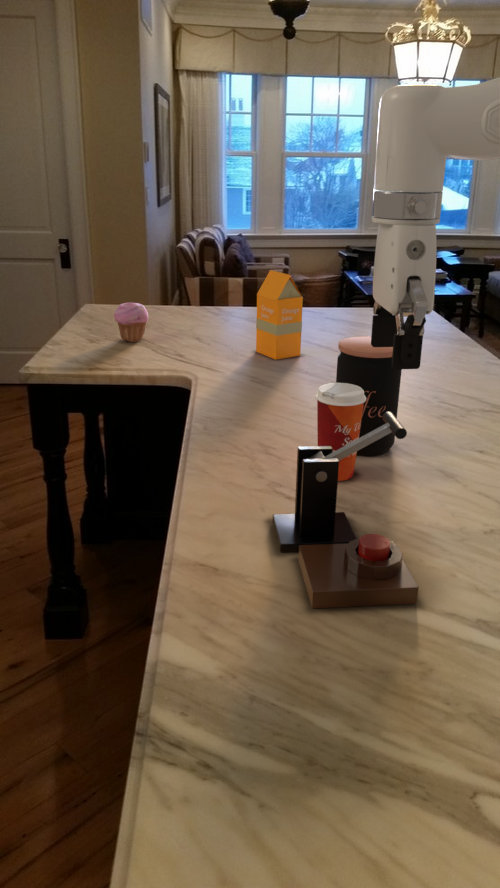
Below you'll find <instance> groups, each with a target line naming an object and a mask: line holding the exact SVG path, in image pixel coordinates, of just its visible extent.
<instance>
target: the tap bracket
mask: <svg viewBox="0 0 500 888" xmlns="http://www.w3.org/2000/svg"><path fill="white" fill-rule="evenodd" d="M332 450H333V449H332V447H331V446H318V445H315V446H314V445H310V446H308V445H307V446H297V454H296V455H297V458H296V475H295V477H296V479H295V500H294V501H295V502H294V513H275V514H272V525H273V529H274V533H275V536H276V537H275V538H276V541H277V546H278V549H279V552H280V553H291V552H292V553H294V552H296V553H297V552H298V553H299V545H320V544H348V543H349V542H350V541H353V540H355V539H357V537H356V534H355V532H354V530H353V528H352V526H351V523H350V521H349V519H348V517H347V515H346V512H345V511H338V512H337V498H338V497H337V496H338V482H339V481H338V471H339V460H338V458H330V459H307V458H309V457H311V456H313V455H314V454H316V453H318V452H320V451H322V453H323V455H324V457H325V456H327V455H329V454H331V453H332ZM302 461H303V463H302Z"/></svg>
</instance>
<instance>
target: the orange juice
mask: <svg viewBox="0 0 500 888" xmlns="http://www.w3.org/2000/svg"><path fill="white" fill-rule="evenodd" d="M292 277H293V276H292V275H291V274H288V273H283V272H281V271H275V270H273V269H270V270H269V271H268V273H267V275H266V277H265V278H264V280H263V282H262V284H261V286H260V288H259V290H258V291H257V293H256V319H255V320H256V321H255V325H256V327H255V329H256V330H255V333H256V339H255V352H256V353H259V354H261V355H264V356H266V357H268V358H270V359H273V360H275V361H277V360H281V359H288V358H293V357H300V356H301V350H302V333H303V332H302V330H303V302H304V297H303V296H302V294H301V292H300V291H299V288H298V287H297V284H296V283H295V281H294V279H293V278H292Z"/></svg>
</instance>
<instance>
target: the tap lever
mask: <svg viewBox="0 0 500 888" xmlns="http://www.w3.org/2000/svg"><path fill="white" fill-rule="evenodd" d="M383 420H384V422H385V423H386V424H384V425H382V426H381V427H379V428H377V429H375V430H373V431H371V432H369V433H368V434H366V435H364V436H362V437H360V438H358V439H357V440H355V441H353V442H351V443H349V444H347V445H346V446H344V447H342V448H340V449H338V450H336V451H335V452H333V453H331V454H329V455H327V456H325V457H324V455H323V453H322V451H320V452H318V453H316V454H314V455H313V456H311V457H309V458H307V459H330V458H338V460H339V461H340V460H341V459H343V458H345V457H347V456H349V455H351V454H353V453H354V452H356V451H358V450H360V449H362V448H364V447H366V446H367V445H369V444H371V443H373V442H375V441H377V440H378V439H380V438H382V437H384V436H386V435H388V434H390V433H391V432H393V434H394V435H395V438H396V439H397V440H404V439H405V438H406V437H407V435H408V431H407V430H406V428H405V427H404V426H403V425H402V423H401V422H400V421H399V420H398V417H397V418H396V417H395V416H394V415H393V413H392V412H385V413H384V414H383ZM302 463H303V461H302Z"/></svg>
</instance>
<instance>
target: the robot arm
mask: <svg viewBox="0 0 500 888" xmlns="http://www.w3.org/2000/svg"><path fill="white" fill-rule="evenodd" d="M376 137H377V138H376V151H375V167H374V180H373V194H372V209H371V210H372V211H371V212H372V213H371V222H372V223H375V224H378V228H377V235H376V242H375V243H376V244H375V251H374V262H373V272H372V273H373V274H372V297H373V300H374V304H373V307H372V312H373V315H372V319H371V320H372V322H371V334H370V335H371V336H370V337H371V345H372V346H373V347H393V354H392V367H393V368H394V369H402V370H418V369H420V367H421V361H422V349H423V338H424V335H425V324H426V323H427V319H426V315H430V314H431V313H432V312H433V310H434V307H435V292H436V277H437V276H436V274H437V273H436V272H437V249H438V248H437V247H438V246H437V245H438V244H437V224H438V225H439V224H440V222H441V211H442V202H443V192H444V191H443V190H444V182H445V172H446V163H447V157H451V158H452V159H456V160H472V161H483V162H484V161H485V162H486V161H487V162H489V161H496V160H500V76H499V77H496V78H493V79H489V80H487V81H483V82H480V83H477V84H473V85H472V84H471V85H461V86H450V87H445V86H442V85H439V84H426V83H425V84H424V83H422V84H421V83H419V84H418V83H416V84H415V83H414V84H412V83H411V84H398V85H395V86H394V85H393V86H390V87H388V88H387V89H386V90H385V91H384V92H383V94H382V95H381V97H380V101H379V107H378V122H377V136H376ZM405 318H406V319H405Z"/></svg>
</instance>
